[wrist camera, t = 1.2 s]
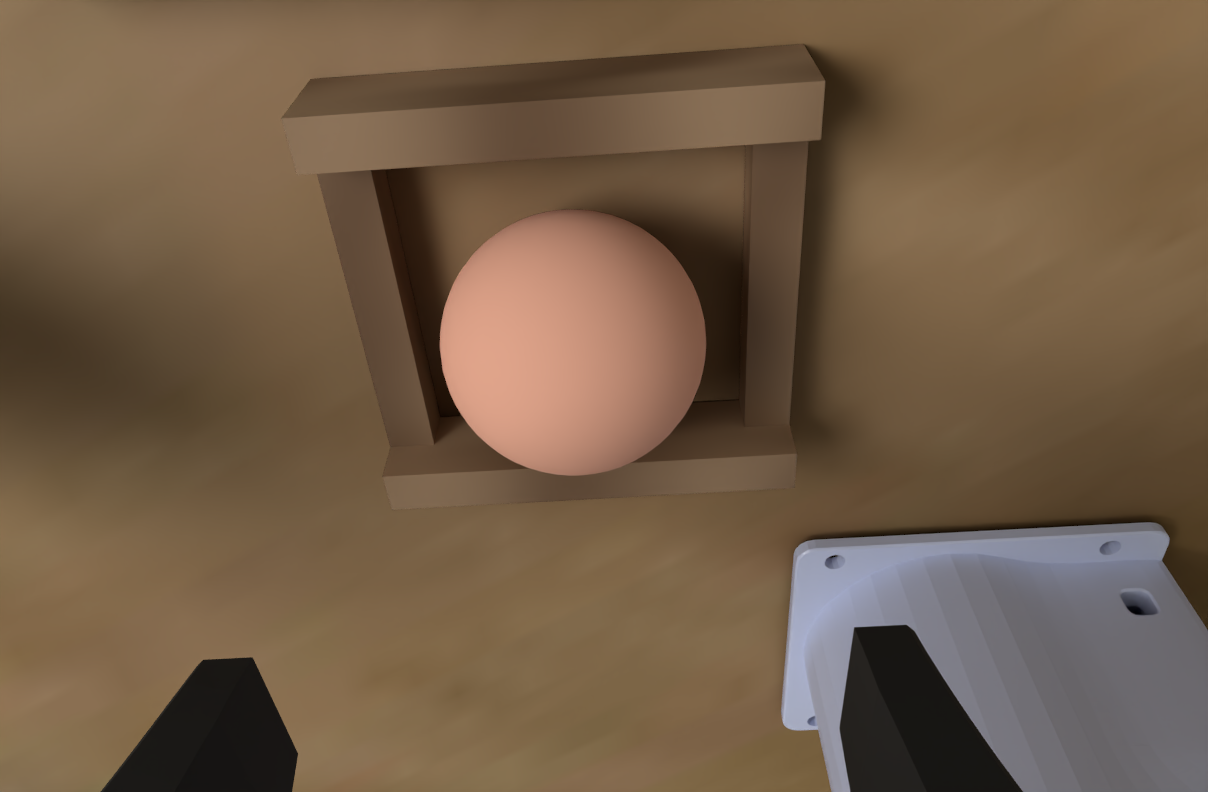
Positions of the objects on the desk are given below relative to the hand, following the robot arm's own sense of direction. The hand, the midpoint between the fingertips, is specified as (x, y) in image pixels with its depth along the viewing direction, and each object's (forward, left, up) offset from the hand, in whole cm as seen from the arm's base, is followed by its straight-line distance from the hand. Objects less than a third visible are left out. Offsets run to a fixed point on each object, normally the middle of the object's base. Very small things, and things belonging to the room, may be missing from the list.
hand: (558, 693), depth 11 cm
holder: (0, 0, -10) cm, 10 cm away
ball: (0, 0, -8) cm, 8 cm away
